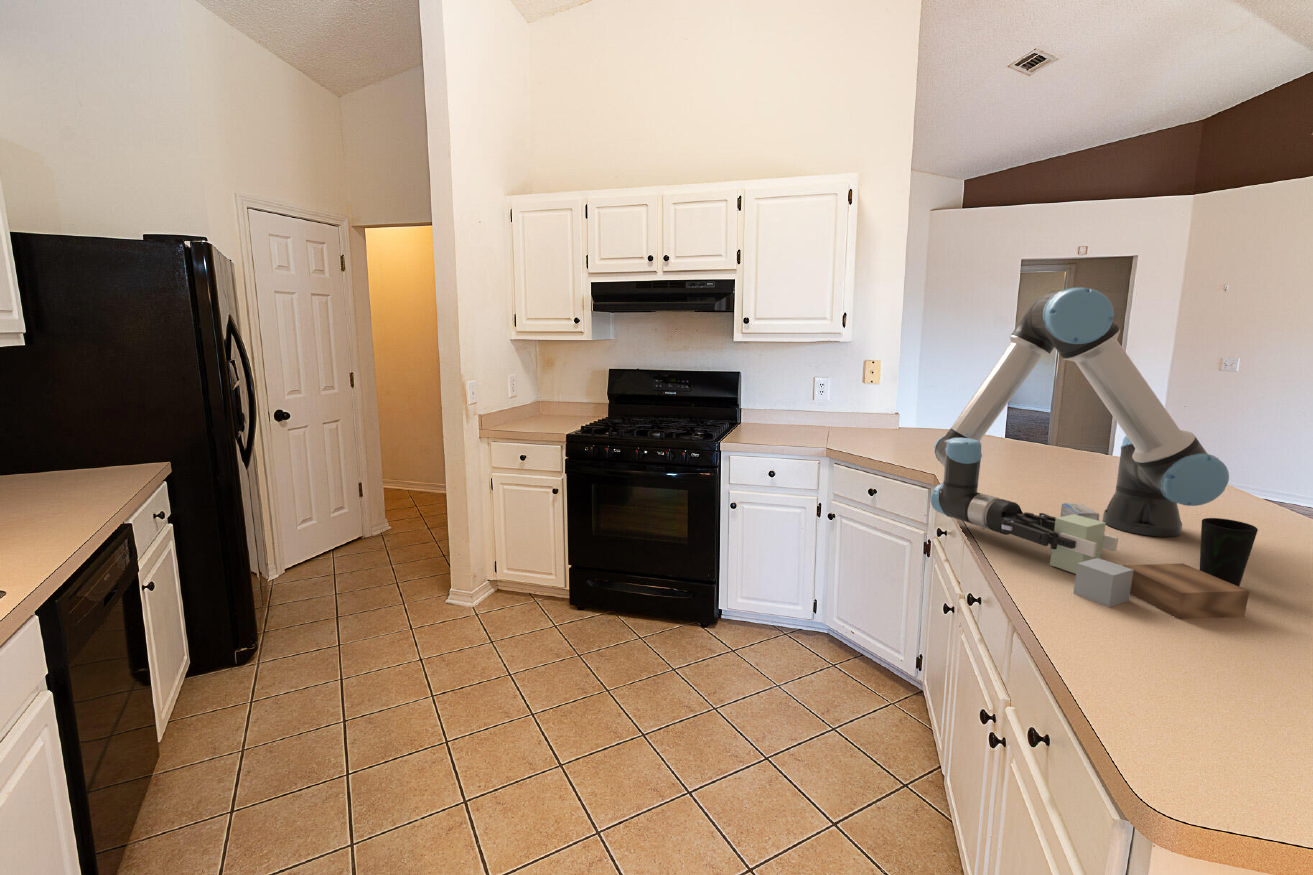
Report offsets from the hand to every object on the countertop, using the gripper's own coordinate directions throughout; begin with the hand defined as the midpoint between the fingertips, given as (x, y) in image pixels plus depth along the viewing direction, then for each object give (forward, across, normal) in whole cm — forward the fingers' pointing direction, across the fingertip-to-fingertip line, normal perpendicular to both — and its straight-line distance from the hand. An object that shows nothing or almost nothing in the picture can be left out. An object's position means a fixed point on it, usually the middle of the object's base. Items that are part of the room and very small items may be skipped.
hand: (1105, 547), depth 116 cm
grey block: (+5, +9, -6) cm, 12 cm away
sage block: (-5, 0, -6) cm, 8 cm away
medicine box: (-14, -15, -7) cm, 21 cm away
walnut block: (+12, -2, -7) cm, 14 cm away
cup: (+11, -17, -7) cm, 22 cm away
